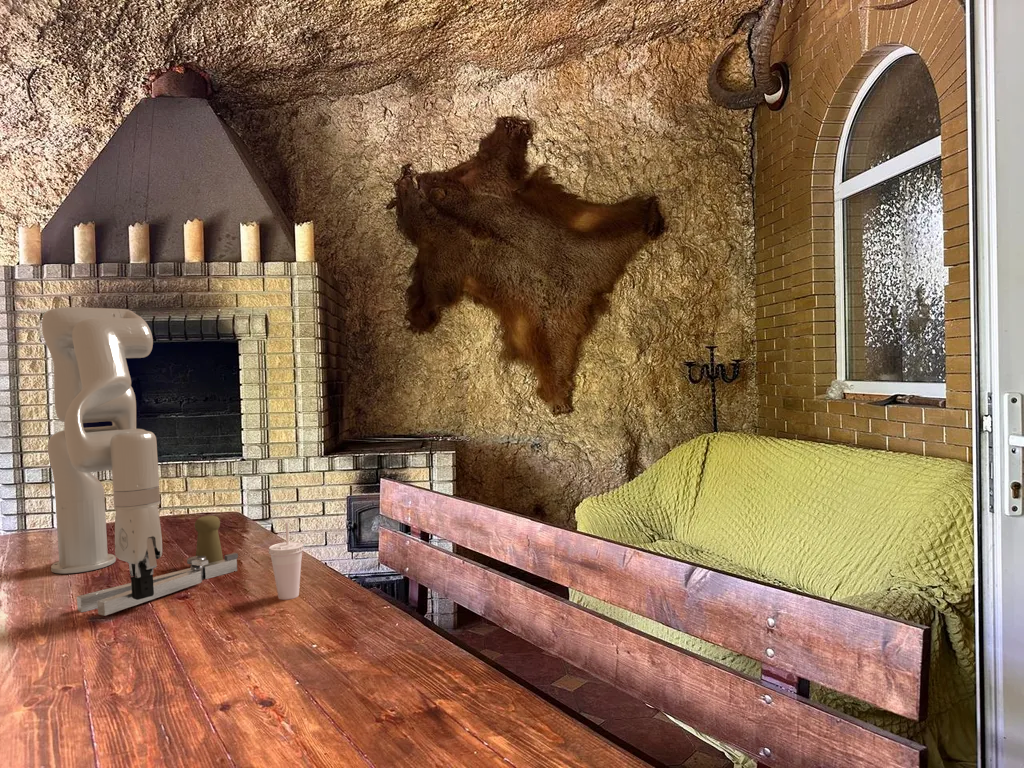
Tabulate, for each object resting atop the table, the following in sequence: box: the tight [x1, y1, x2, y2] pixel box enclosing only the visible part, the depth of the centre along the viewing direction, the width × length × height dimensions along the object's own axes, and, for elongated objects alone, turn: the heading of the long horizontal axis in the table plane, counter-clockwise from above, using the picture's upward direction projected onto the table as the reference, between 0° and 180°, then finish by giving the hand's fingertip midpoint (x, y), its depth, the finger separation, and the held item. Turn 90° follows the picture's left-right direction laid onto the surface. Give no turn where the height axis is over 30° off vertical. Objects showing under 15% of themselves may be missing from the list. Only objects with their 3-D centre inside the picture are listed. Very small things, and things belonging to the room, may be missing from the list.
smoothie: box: [268, 521, 305, 601], centre depth 131 cm, size 6×6×14 cm
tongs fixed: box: [76, 552, 239, 613], centre depth 139 cm, size 2×31×4 cm, turn 140°
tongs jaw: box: [97, 555, 208, 617], centre depth 135 cm, size 6×24×4 cm, turn 152°
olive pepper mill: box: [194, 515, 224, 563], centre depth 155 cm, size 6×6×11 cm
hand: (143, 596), depth 128 cm, fingers closed
